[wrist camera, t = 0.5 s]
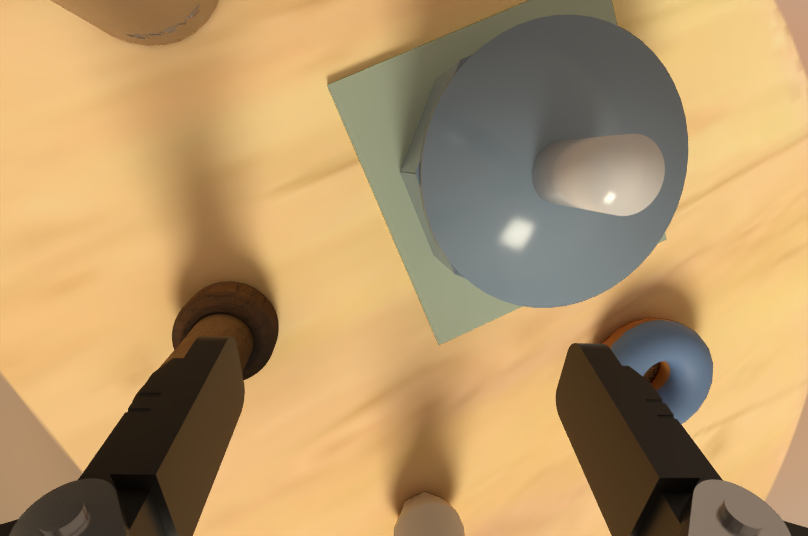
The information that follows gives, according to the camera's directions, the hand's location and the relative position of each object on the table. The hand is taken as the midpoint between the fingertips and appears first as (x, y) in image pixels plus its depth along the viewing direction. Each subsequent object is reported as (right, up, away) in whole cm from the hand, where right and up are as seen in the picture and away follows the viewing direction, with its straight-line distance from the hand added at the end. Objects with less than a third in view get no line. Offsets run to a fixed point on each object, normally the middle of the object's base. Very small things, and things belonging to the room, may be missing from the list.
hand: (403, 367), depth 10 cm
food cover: (+8, +9, +20) cm, 24 cm away
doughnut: (+20, -6, +27) cm, 34 cm away
